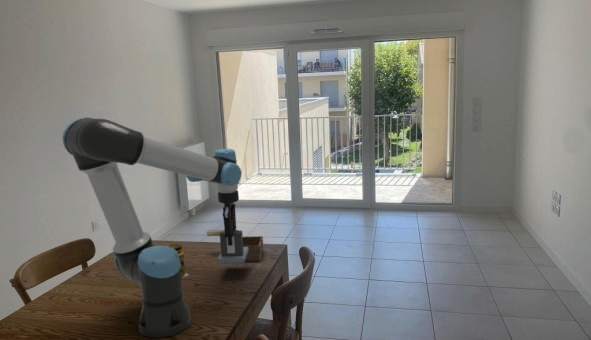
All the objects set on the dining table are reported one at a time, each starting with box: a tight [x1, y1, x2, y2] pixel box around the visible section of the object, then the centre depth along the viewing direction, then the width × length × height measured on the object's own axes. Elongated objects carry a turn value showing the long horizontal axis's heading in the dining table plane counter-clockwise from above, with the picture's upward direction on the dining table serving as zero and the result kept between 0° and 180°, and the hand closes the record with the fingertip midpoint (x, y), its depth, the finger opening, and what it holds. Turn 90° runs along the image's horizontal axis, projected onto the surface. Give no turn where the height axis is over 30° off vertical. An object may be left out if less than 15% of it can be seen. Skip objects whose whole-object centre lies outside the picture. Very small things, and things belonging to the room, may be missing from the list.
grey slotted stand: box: [216, 230, 249, 265], centre depth 167 cm, size 12×10×11 cm
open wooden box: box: [242, 235, 264, 264], centre depth 185 cm, size 12×10×7 cm
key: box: [206, 229, 225, 237], centre depth 189 cm, size 2×8×2 cm, turn 88°
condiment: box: [168, 243, 190, 279], centre depth 168 cm, size 7×8×12 cm
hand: (232, 250), depth 166 cm, fingers closed on grey slotted stand, 3 cm apart
